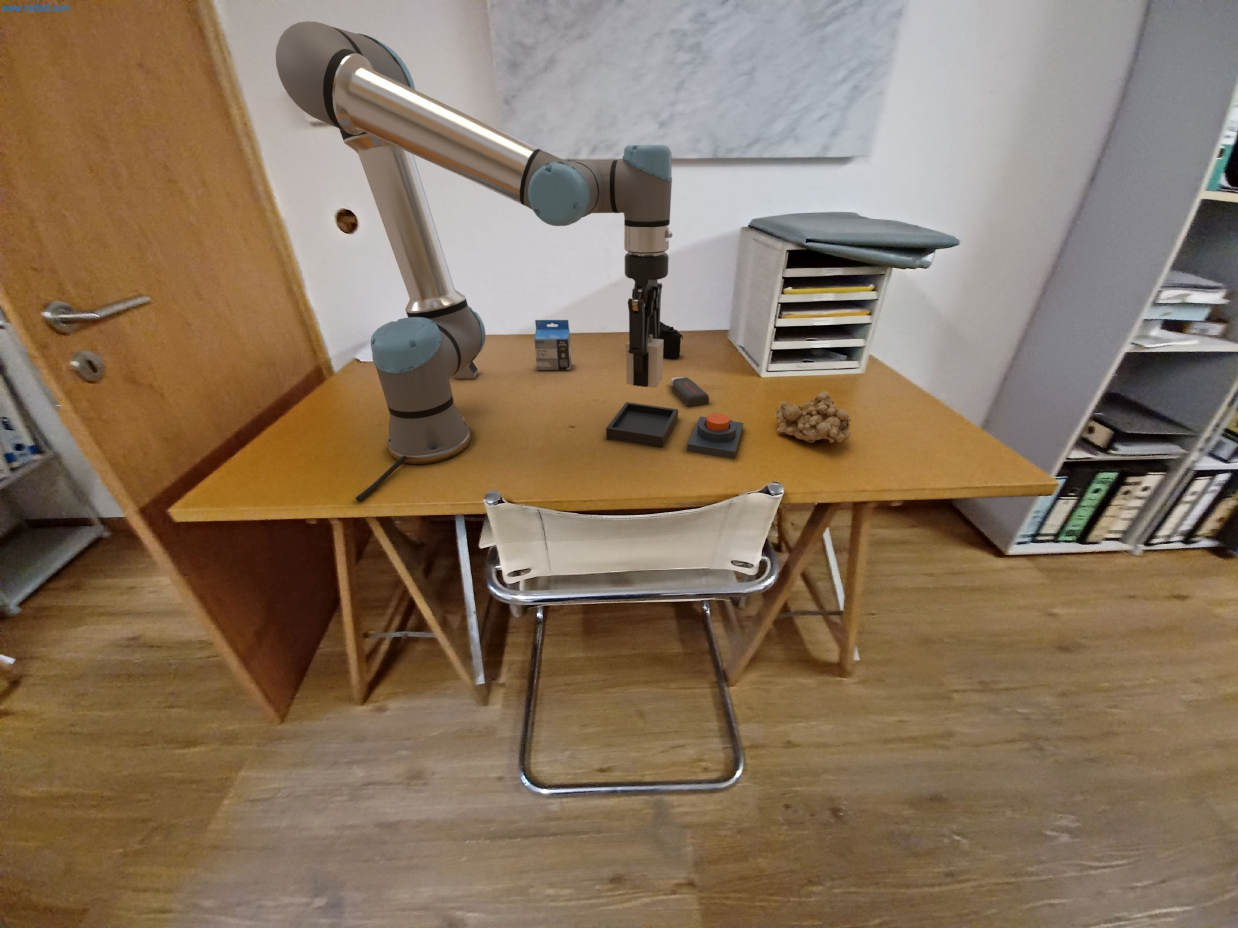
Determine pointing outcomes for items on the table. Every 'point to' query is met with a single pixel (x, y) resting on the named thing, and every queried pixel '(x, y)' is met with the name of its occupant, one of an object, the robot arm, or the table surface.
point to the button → (717, 422)
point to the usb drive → (689, 392)
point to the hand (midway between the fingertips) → (644, 380)
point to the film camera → (670, 341)
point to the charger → (653, 366)
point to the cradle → (642, 424)
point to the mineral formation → (814, 420)
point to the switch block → (715, 439)
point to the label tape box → (552, 345)
